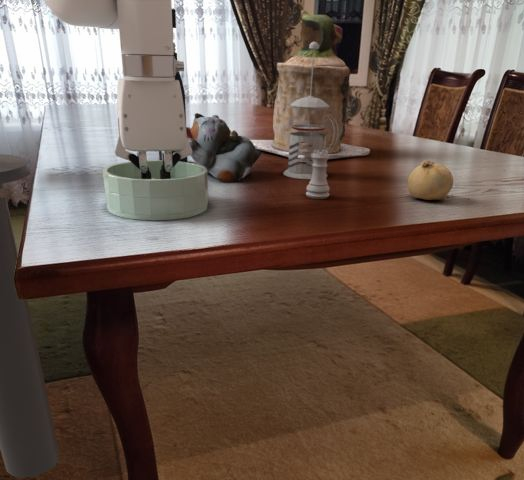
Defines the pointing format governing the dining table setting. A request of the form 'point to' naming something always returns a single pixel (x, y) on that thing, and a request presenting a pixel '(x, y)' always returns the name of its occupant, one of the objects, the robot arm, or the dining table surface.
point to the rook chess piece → (318, 176)
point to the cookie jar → (313, 90)
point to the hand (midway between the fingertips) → (157, 194)
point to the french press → (307, 135)
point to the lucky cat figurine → (221, 148)
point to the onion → (430, 181)
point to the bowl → (156, 191)
